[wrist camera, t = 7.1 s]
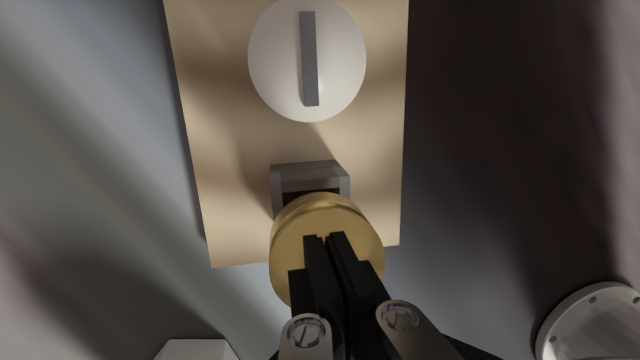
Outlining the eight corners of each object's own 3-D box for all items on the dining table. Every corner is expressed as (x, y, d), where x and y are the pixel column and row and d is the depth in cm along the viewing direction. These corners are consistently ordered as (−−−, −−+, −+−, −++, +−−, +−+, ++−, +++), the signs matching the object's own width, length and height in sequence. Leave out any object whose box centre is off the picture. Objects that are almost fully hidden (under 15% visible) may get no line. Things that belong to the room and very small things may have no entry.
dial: (250, 24, 17) (239, -9, 11) (336, 23, 18) (369, -10, 12) (259, 114, 19) (254, 126, 13) (338, 109, 19) (368, 119, 13)
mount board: (139, -195, 15) (59, -363, 9) (400, -176, 17) (465, -308, 11) (216, 253, 23) (198, 307, 17) (389, 232, 25) (424, 275, 19)
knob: (266, 164, 19) (263, 220, 11) (340, 158, 20) (386, 206, 12) (273, 232, 20) (274, 323, 13) (341, 224, 21) (384, 306, 13)
